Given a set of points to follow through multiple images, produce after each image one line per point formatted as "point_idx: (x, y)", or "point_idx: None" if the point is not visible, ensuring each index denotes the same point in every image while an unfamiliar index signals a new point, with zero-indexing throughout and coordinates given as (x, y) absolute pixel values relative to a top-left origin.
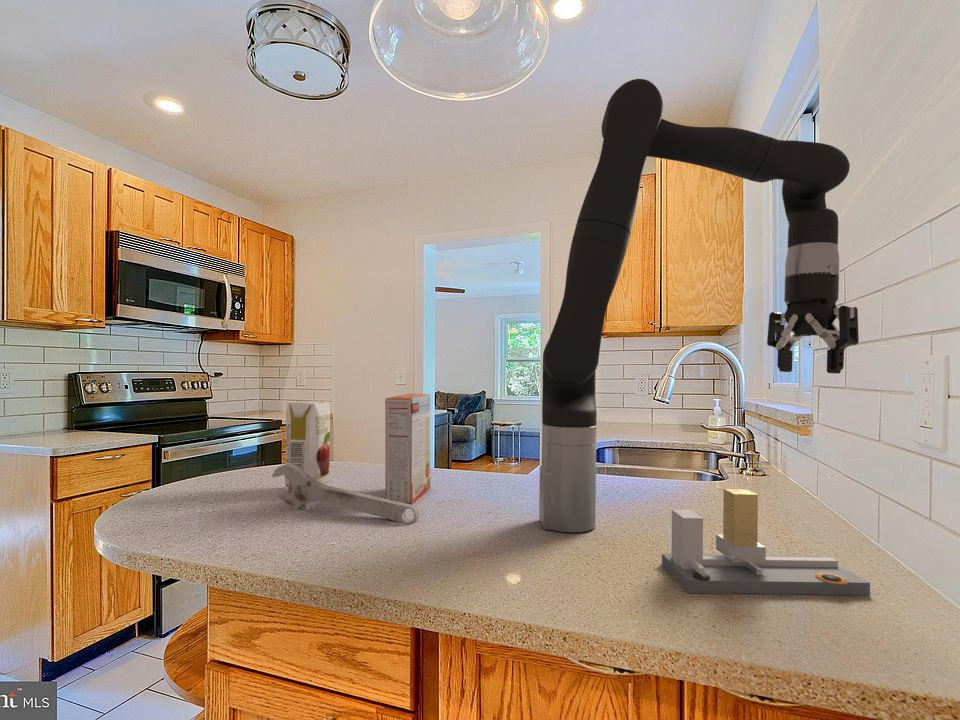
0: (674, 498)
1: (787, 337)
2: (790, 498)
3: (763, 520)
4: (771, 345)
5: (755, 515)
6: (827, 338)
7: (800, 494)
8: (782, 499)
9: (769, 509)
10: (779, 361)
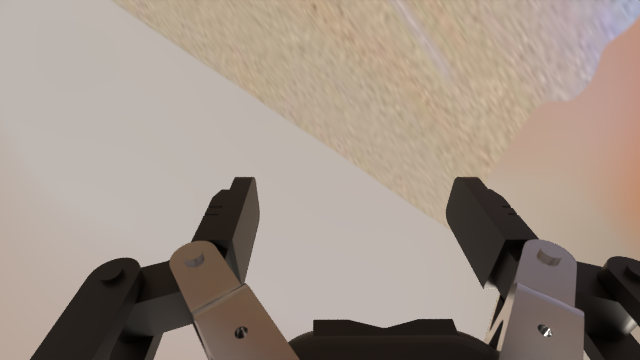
0: (573, 19)
1: (512, 295)
2: None
3: (404, 65)
4: (609, 259)
5: None
6: (211, 287)
7: None
8: None
9: (437, 125)
10: (495, 199)
